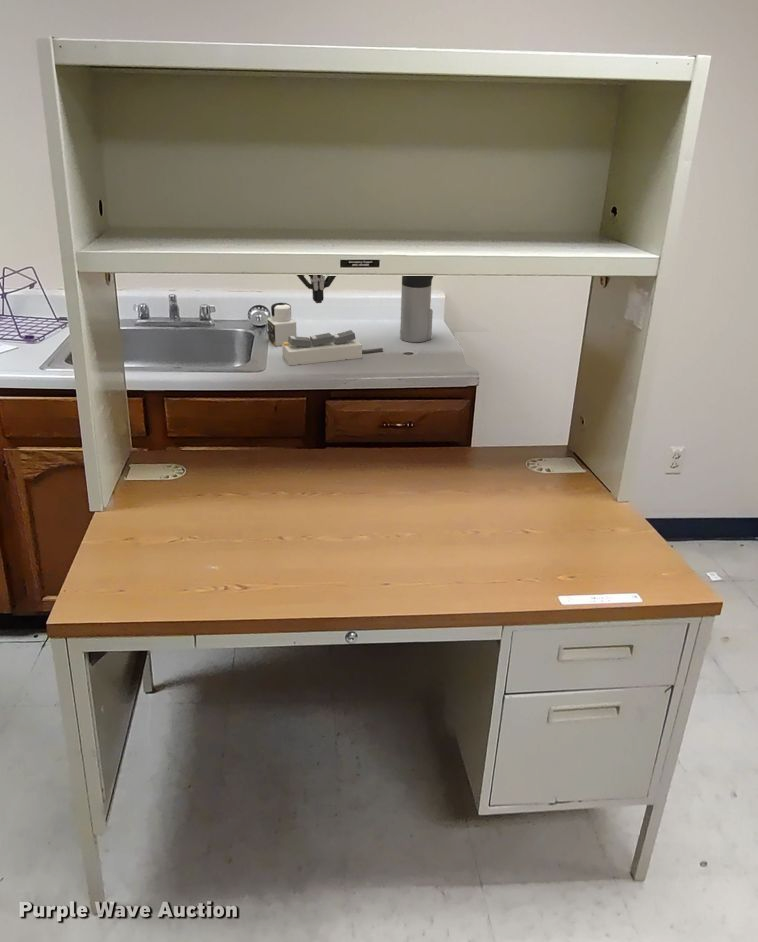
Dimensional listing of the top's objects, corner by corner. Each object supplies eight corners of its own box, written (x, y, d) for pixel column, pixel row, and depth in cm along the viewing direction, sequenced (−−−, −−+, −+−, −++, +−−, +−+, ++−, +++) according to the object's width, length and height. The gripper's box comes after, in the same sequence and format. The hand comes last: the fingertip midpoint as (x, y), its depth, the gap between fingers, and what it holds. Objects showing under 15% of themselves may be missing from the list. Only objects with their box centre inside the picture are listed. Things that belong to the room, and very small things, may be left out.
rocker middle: (329, 338, 224) (329, 332, 223) (333, 342, 221) (332, 335, 220) (310, 342, 222) (309, 335, 221) (313, 345, 219) (313, 339, 218)
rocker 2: (351, 335, 226) (350, 329, 225) (355, 339, 223) (354, 332, 222) (333, 340, 224) (331, 334, 223) (336, 344, 222) (335, 338, 221)
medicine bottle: (268, 340, 238) (266, 302, 232) (289, 337, 240) (288, 300, 235) (275, 346, 232) (273, 308, 226) (297, 344, 235) (295, 305, 229)
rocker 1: (307, 343, 222) (308, 336, 221) (310, 346, 219) (311, 340, 218) (287, 341, 220) (288, 335, 219) (290, 345, 217) (291, 338, 216)
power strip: (377, 347, 233) (377, 332, 231) (386, 355, 226) (387, 340, 224) (282, 356, 223) (282, 341, 221) (289, 365, 217) (289, 350, 215)
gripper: (334, 236, 214) (335, 297, 222) (289, 239, 210) (292, 301, 218) (343, 241, 208) (344, 303, 216) (296, 244, 204) (299, 308, 212)
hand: (318, 302), depth 217 cm, fingers closed
